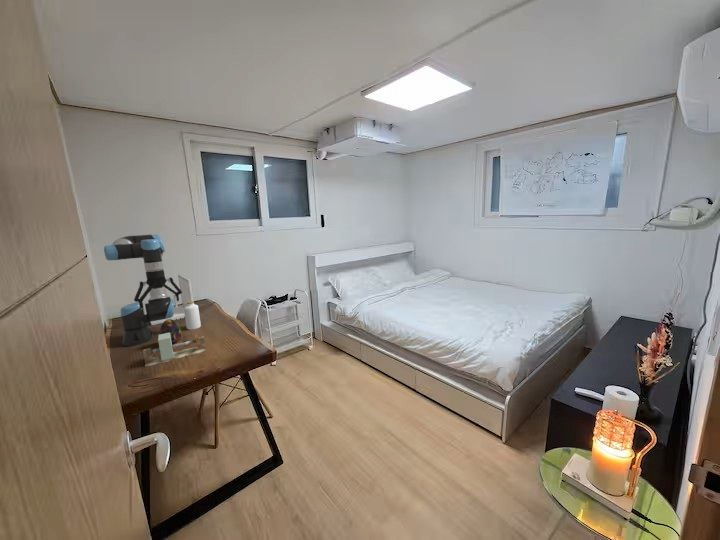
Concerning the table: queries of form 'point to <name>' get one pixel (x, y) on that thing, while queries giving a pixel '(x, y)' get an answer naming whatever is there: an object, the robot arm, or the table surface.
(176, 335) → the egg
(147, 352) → the rail
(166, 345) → the block
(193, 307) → the potion bottle
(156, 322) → the laptop
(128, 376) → the table surface
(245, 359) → the table surface
